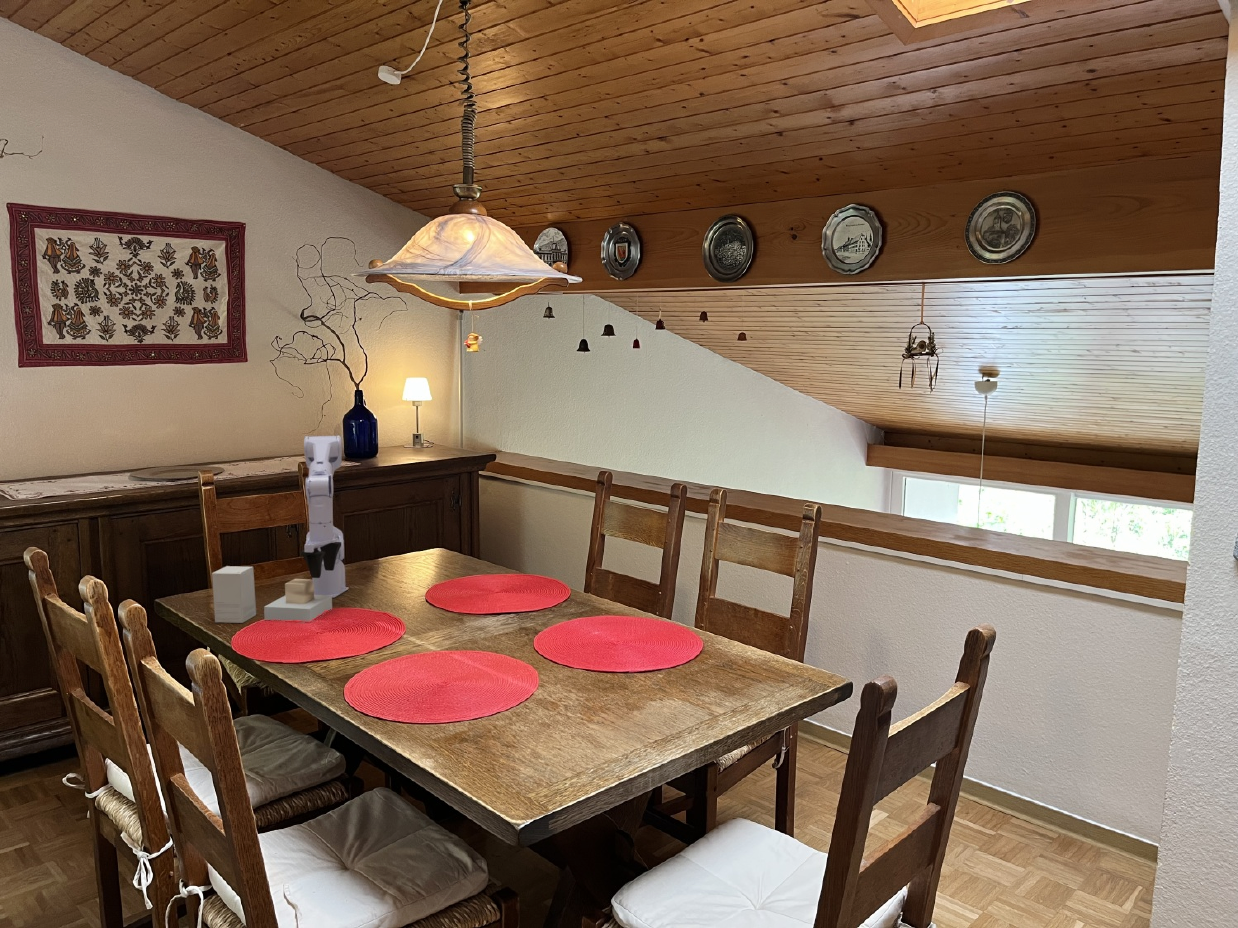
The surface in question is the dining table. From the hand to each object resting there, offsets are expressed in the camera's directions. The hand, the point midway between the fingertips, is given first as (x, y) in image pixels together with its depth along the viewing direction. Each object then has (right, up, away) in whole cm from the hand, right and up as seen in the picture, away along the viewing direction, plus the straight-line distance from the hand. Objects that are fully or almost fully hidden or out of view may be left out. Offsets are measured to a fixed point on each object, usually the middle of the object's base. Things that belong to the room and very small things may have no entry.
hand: (322, 573), depth 235 cm
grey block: (-5, -10, -3) cm, 12 cm away
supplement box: (-19, -11, -7) cm, 23 cm away
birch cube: (-5, -6, -4) cm, 9 cm away
